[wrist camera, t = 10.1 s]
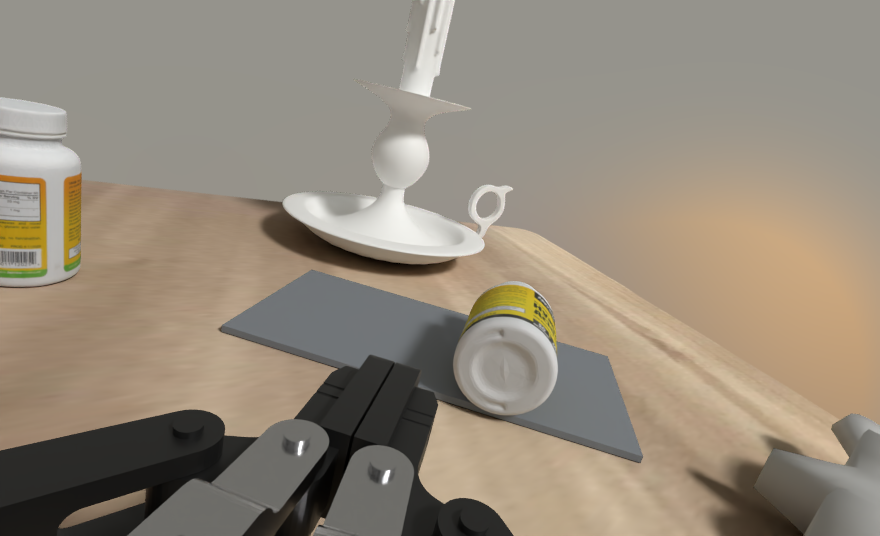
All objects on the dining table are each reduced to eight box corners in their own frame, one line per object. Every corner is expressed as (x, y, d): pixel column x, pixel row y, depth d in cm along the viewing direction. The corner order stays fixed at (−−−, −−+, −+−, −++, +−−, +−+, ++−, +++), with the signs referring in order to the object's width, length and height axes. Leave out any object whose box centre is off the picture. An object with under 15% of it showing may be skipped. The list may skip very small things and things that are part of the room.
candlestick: (546, 292, 50) (644, -6, 41) (306, 284, 37) (377, -148, 29) (451, 230, 66) (507, 7, 58) (261, 209, 54) (298, -79, 45)
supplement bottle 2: (549, 314, 23) (545, 263, 33) (441, 330, 25) (467, 277, 34) (568, 414, 24) (559, 337, 34) (464, 424, 26) (483, 348, 35)
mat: (640, 462, 25) (643, 456, 25) (221, 331, 28) (222, 325, 28) (605, 361, 37) (607, 356, 37) (310, 274, 39) (311, 269, 39)
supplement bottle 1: (43, 249, 32) (41, 98, 29) (101, 275, 31) (105, 119, 28) (-63, 266, 27) (-77, 86, 24) (0, 297, 26) (-7, 110, 23)
